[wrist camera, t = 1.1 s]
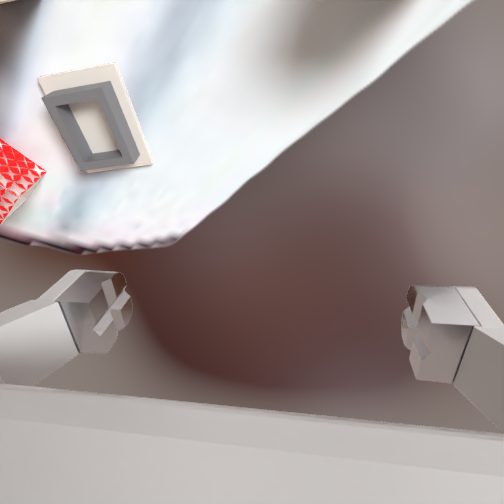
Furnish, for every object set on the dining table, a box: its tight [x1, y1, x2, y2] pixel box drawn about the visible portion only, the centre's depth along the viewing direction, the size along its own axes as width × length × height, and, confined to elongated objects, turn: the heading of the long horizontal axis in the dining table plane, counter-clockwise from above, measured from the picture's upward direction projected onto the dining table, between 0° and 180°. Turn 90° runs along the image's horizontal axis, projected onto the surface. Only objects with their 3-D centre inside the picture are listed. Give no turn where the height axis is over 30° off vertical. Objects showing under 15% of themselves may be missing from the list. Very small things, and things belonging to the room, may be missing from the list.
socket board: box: [37, 62, 154, 173], centre depth 48 cm, size 14×11×4 cm
